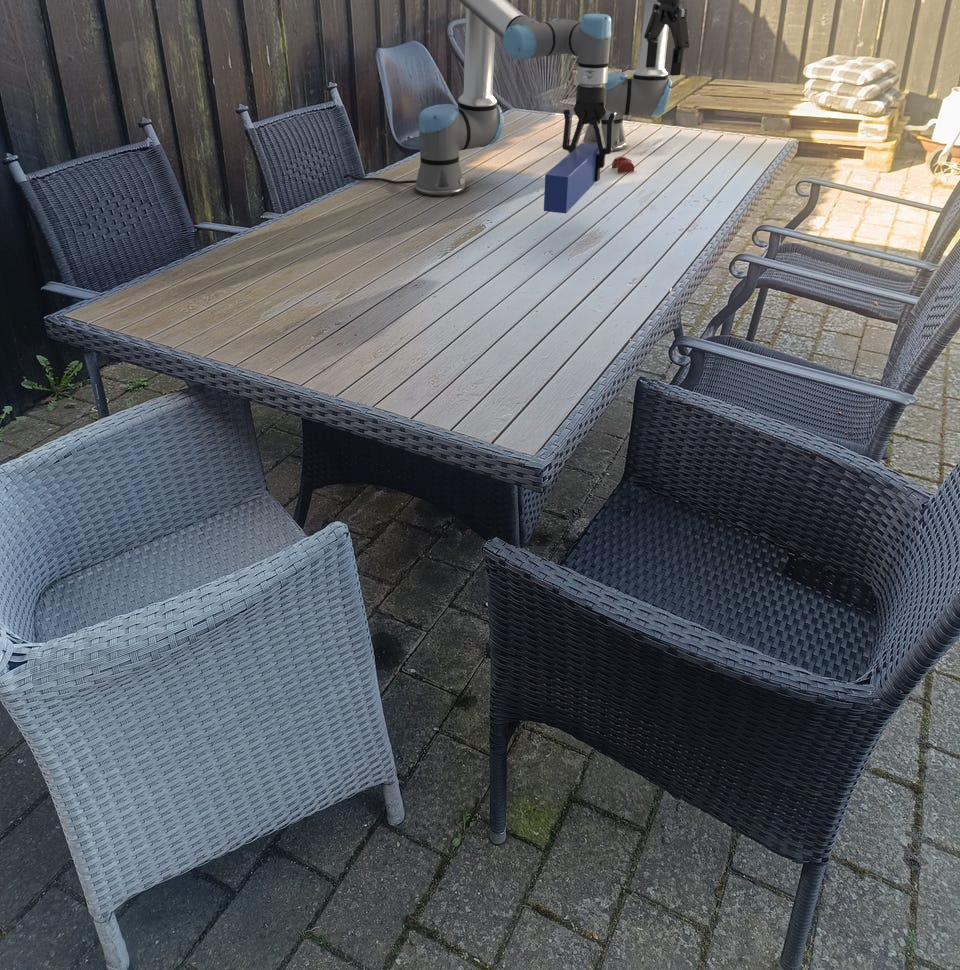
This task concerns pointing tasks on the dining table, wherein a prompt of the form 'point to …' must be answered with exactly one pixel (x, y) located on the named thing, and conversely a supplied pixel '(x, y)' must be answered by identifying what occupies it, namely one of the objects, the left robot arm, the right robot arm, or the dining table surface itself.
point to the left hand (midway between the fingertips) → (585, 178)
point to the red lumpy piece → (623, 164)
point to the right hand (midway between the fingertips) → (662, 71)
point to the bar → (570, 179)
